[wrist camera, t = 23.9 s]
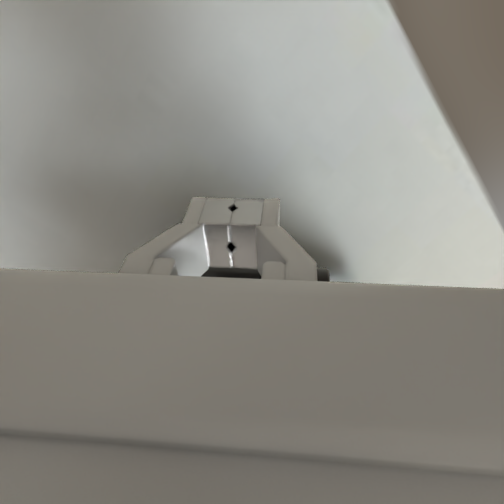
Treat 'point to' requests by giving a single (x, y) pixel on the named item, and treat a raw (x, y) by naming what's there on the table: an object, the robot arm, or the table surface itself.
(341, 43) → the table surface
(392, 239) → the table surface
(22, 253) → the table surface
